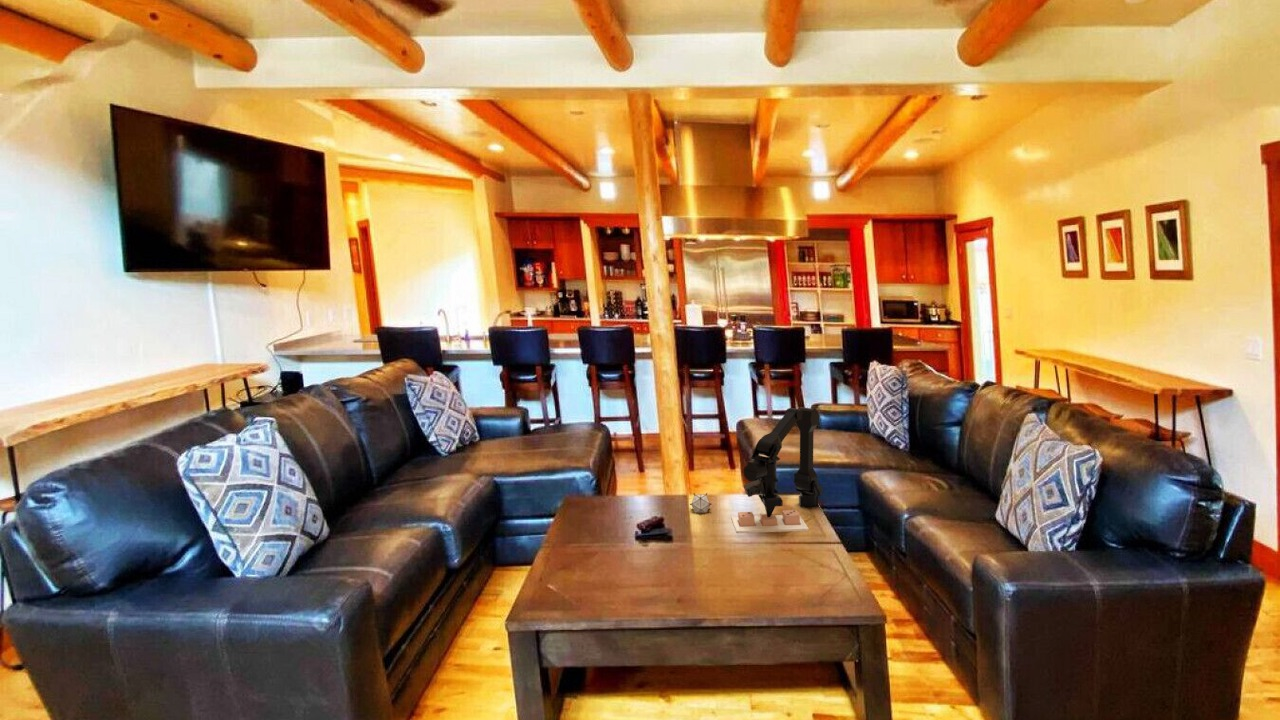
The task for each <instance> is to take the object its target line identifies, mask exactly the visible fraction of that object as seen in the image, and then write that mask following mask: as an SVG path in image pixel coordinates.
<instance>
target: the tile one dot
mask: <svg viewBox="0 0 1280 720" xmlns="http://www.w3.org/2000/svg"><path fill="white" fill-rule="evenodd" d="M775 515H776V514H774V513H772V515H771V517H767V514H766V513H763V514H761V513H760V515H759V516H760V522H761V525H762V526H777V518H776V516H775Z"/></svg>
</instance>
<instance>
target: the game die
mask: <svg viewBox="0 0 1280 720" xmlns="http://www.w3.org/2000/svg"><path fill="white" fill-rule="evenodd" d="M693 495H694V496H693V498H692V501H691V503H689V505H690V506H691V507H692V510H693V512H694V513H696V514H704V513H705V514H707V513H708V512H709V509H710V506H711V505H713V504H712V503H711V502H710V501H709V497H708V492H706V493H705V494H696V493H693Z"/></svg>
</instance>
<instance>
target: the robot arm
mask: <svg viewBox="0 0 1280 720" xmlns="http://www.w3.org/2000/svg"><path fill="white" fill-rule="evenodd" d="M819 419H820V413H819V411H818V410H817V409H815V408H810V407H803V406H799V407H798V408H793V407H789V408H787V409H786V410H785V413H784V415H783V416H782V418H781V419H780V420H779V422H778V423H777V424H776V426H775V427H773V429H772V430H771V431H770V432H769V433H766V434H764V435H763V436H762V437H760V439H759V440H758V441H757V442H756V445H755V447H754V450H753V452H752V455H751V460H749V461H748V462H747V465H746V466H744V468H743V472H742V473H743V476H744V478H745V479H746V480H747V481H749V482H748V483H745V484H744V485H743V488H744V490H745V492H746V495H747V497H749V498H751V497H753V496H754V495H757V494H758V497H759V499H760V501H761V503H762V504H763V506H764V508H765V509H764V510H765V514H767V517H771V515H772V514H774V510H775V509H776V507H784V506H783V503H784V502H783V499H782V497H781V496H780V495H779V494H778V493H779V489H778V488H777V487H778V486H777V483H778V482H779V479H778V477H777V462H778V461H780V460H781V459H780V457H779V456H778V455H779V453H780V451H781V450H782V448H783V446H782V445H783V444H782V443H783V441H784V439H785V438H786V437H787V436H788V434H789V433H790V431H791V430H793V427H794V426H795V425H796V426H797V429H798V430H799V468H798V470H797V471H796V472H794V474H793V477H794V478H793V479H794V480H793V484H794V487H795V491H796V493H800V494H799V495H798V505H799V507H800V508H807V509H814V508H818V507H819V497H820V496H821V495H822V494H823V490H824V488H823V487H822V486H821V484H820V483H819V480H818V475H817V473H816V471H815V469H814V432H815V430H816V428H817V426H818V425H819ZM759 493H760V494H759Z"/></svg>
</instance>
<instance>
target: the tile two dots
mask: <svg viewBox="0 0 1280 720" xmlns="http://www.w3.org/2000/svg"><path fill="white" fill-rule="evenodd" d="M737 513H738V514H737V516H738V524H739V527H747V526H755V519H754V516H755V515H754V513H753V511H738V512H737Z"/></svg>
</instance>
